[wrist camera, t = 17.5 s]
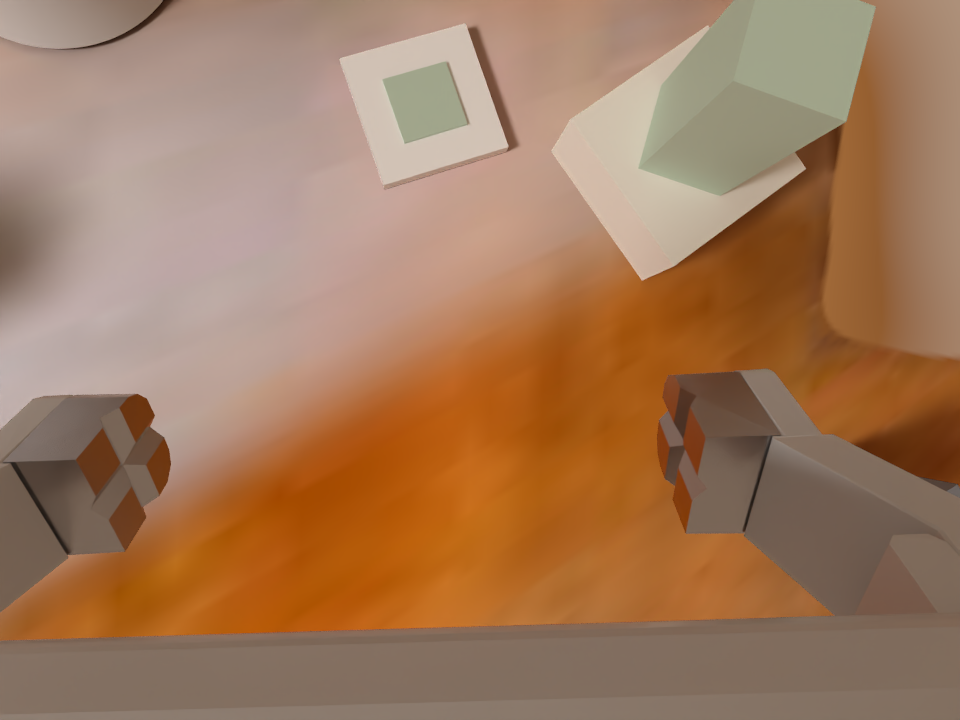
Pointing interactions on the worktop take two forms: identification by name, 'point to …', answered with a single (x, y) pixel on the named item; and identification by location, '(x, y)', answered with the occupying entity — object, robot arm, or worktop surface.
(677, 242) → the cream base block
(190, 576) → the worktop surface
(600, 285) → the worktop surface
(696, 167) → the sage block
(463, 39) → the tile
